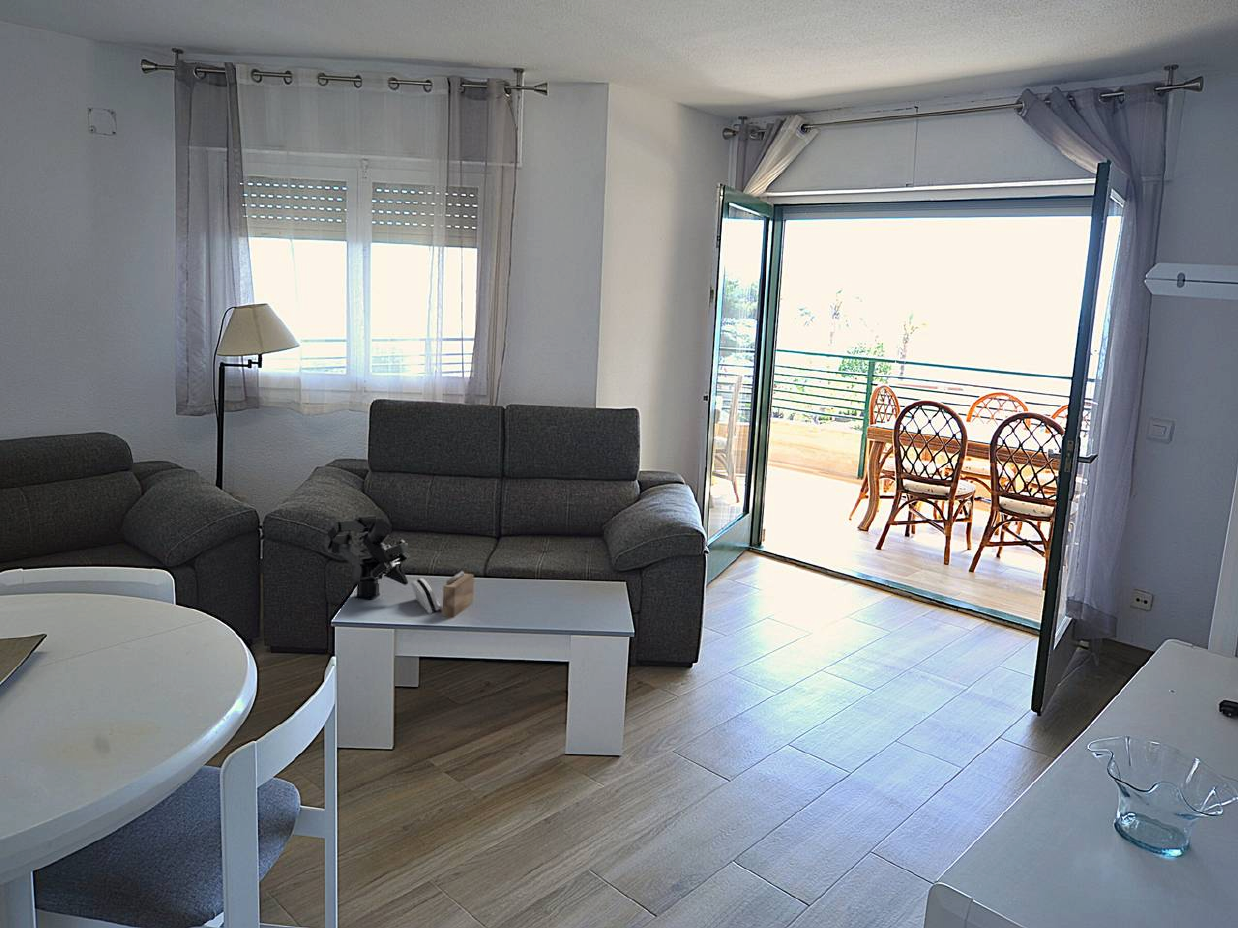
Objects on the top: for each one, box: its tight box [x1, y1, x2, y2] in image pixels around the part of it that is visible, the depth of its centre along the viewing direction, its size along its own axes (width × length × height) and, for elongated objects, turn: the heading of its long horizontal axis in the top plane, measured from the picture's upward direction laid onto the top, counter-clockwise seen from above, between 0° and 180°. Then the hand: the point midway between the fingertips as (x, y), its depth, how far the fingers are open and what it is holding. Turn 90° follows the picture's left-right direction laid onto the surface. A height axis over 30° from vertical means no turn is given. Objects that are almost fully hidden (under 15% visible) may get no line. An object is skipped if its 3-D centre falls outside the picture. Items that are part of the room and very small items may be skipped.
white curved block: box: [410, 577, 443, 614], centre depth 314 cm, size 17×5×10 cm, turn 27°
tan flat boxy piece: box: [441, 570, 475, 618], centre depth 312 cm, size 4×17×11 cm, turn 168°
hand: (406, 584), depth 315 cm, fingers closed
